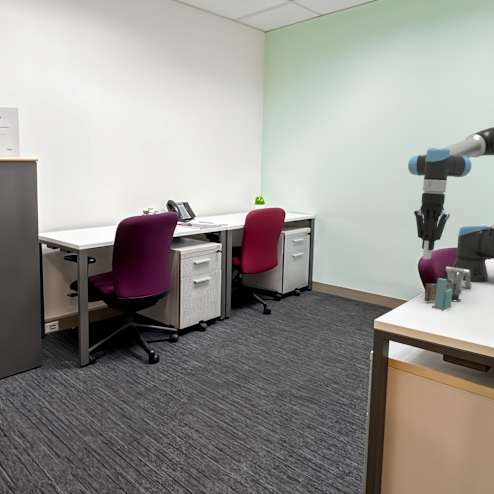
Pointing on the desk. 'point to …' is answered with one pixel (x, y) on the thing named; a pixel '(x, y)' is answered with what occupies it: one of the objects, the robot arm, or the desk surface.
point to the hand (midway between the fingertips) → (426, 258)
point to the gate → (434, 291)
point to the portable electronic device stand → (464, 272)
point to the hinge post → (456, 286)
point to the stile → (442, 295)
